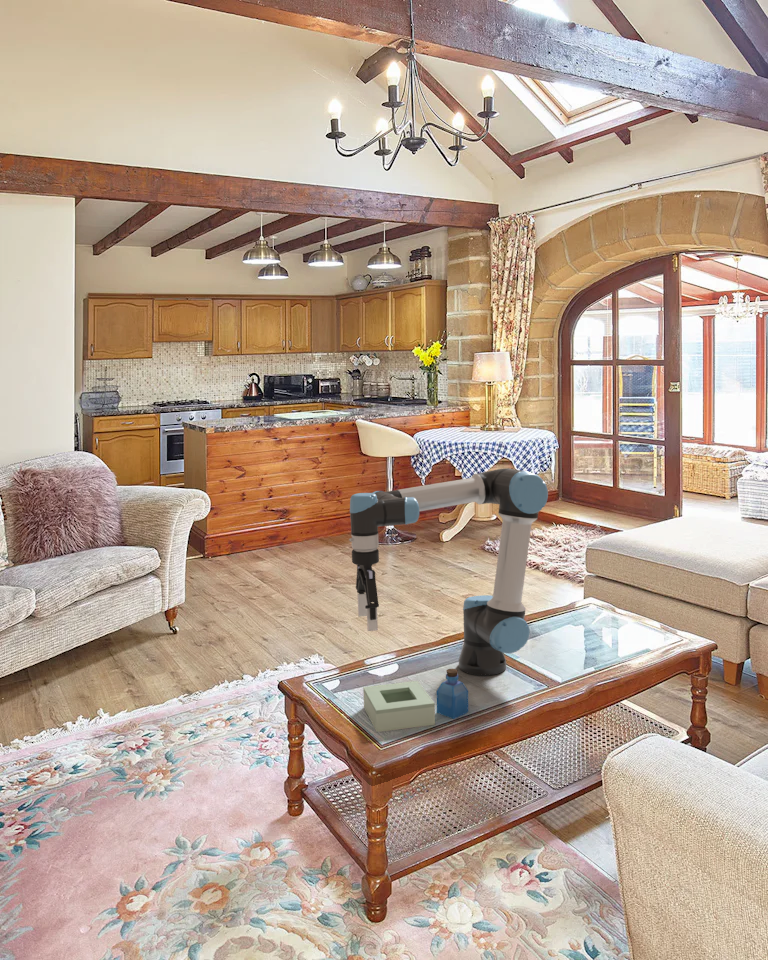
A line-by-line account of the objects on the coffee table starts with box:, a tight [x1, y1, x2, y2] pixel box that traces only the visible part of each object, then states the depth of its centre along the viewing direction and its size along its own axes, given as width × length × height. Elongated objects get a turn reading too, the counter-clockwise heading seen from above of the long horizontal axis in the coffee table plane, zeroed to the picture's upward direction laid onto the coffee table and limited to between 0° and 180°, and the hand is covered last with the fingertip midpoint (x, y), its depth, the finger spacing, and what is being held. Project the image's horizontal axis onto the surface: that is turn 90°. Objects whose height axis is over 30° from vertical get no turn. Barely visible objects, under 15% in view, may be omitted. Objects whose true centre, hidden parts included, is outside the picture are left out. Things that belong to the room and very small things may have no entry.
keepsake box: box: [362, 680, 436, 733], centre depth 207 cm, size 16×16×6 cm
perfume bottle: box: [436, 668, 469, 720], centre depth 208 cm, size 6×6×12 cm
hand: (367, 622), depth 212 cm, fingers open, 13 cm apart
